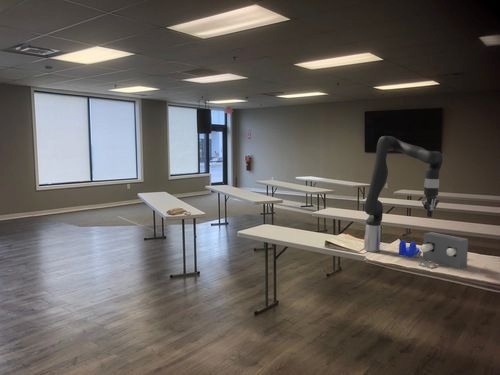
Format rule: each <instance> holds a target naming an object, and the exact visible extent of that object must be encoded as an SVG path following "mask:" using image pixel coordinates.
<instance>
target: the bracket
mask: <svg viewBox="0 0 500 375" xmlns="http://www.w3.org/2000/svg"><path fill="white" fill-rule="evenodd" d="M420 250H421V248H419V247H417V243H416V241H411V242H410V243H409V245H408V246H407V241H406V240H404V239H403V240H402V239H401V240H400V241H399V246H398V256H401V257H403V256H404V257H407V256H408V258H414V257H415V256H417V255H418V254H419V253H420ZM413 256H414V257H413Z"/></svg>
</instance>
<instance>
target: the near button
mask: <svg viewBox="0 0 500 375" xmlns="http://www.w3.org/2000/svg"><path fill="white" fill-rule="evenodd" d="M456 251H457V248H448V249H447V251H446V252H447V254H448V255H449V256H453V255H456Z"/></svg>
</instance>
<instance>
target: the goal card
mask: <svg viewBox="0 0 500 375" xmlns="http://www.w3.org/2000/svg"><path fill="white" fill-rule="evenodd" d="M418 266H419V267H423V268H426V267H427V269H430V270H432V269H435V268H438V265H434V264H429V263H427V262H422V263H420V264H418Z"/></svg>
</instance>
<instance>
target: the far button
mask: <svg viewBox="0 0 500 375" xmlns="http://www.w3.org/2000/svg"><path fill="white" fill-rule="evenodd" d="M423 244H424V243H423ZM423 244H422V245H421V246H420V250H421V252H422V253H423V252H427V251H430V250H434V246H435V244H434V243H429V244H424V245H423Z"/></svg>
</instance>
